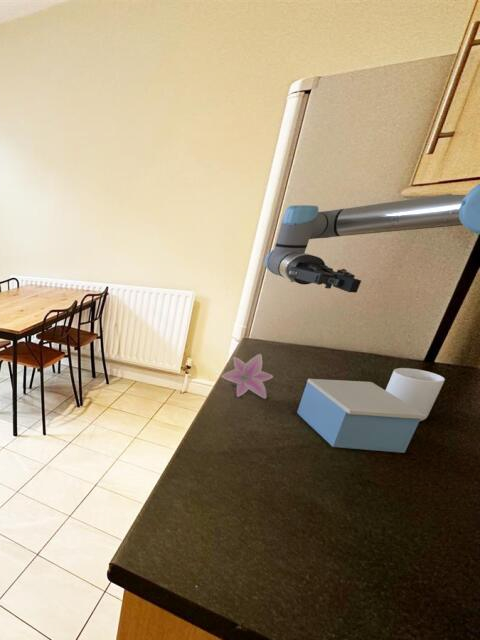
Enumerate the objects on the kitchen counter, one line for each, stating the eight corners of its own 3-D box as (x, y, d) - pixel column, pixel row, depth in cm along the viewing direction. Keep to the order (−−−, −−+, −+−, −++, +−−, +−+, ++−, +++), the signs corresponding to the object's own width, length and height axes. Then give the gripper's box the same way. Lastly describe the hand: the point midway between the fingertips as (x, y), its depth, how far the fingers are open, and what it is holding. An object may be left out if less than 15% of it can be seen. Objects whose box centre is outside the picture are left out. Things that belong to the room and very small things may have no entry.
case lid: (425, 419, 80) (426, 415, 79) (348, 414, 83) (350, 410, 82) (370, 385, 94) (371, 381, 94) (307, 381, 97) (308, 378, 97)
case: (404, 452, 84) (421, 417, 81) (332, 446, 87) (346, 412, 83) (357, 417, 98) (370, 385, 94) (296, 412, 101) (307, 381, 97)
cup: (381, 416, 98) (398, 377, 94) (371, 397, 107) (386, 361, 103) (431, 425, 93) (450, 384, 89) (416, 404, 103) (433, 366, 98)
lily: (208, 393, 114) (226, 372, 106) (219, 366, 120) (236, 344, 112) (254, 414, 110) (276, 393, 102) (262, 385, 116) (284, 363, 108)
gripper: (323, 283, 114) (381, 304, 93) (271, 280, 117) (316, 301, 96) (334, 255, 111) (396, 270, 90) (280, 253, 113) (328, 268, 93)
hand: (355, 286), depth 93 cm, fingers closed
